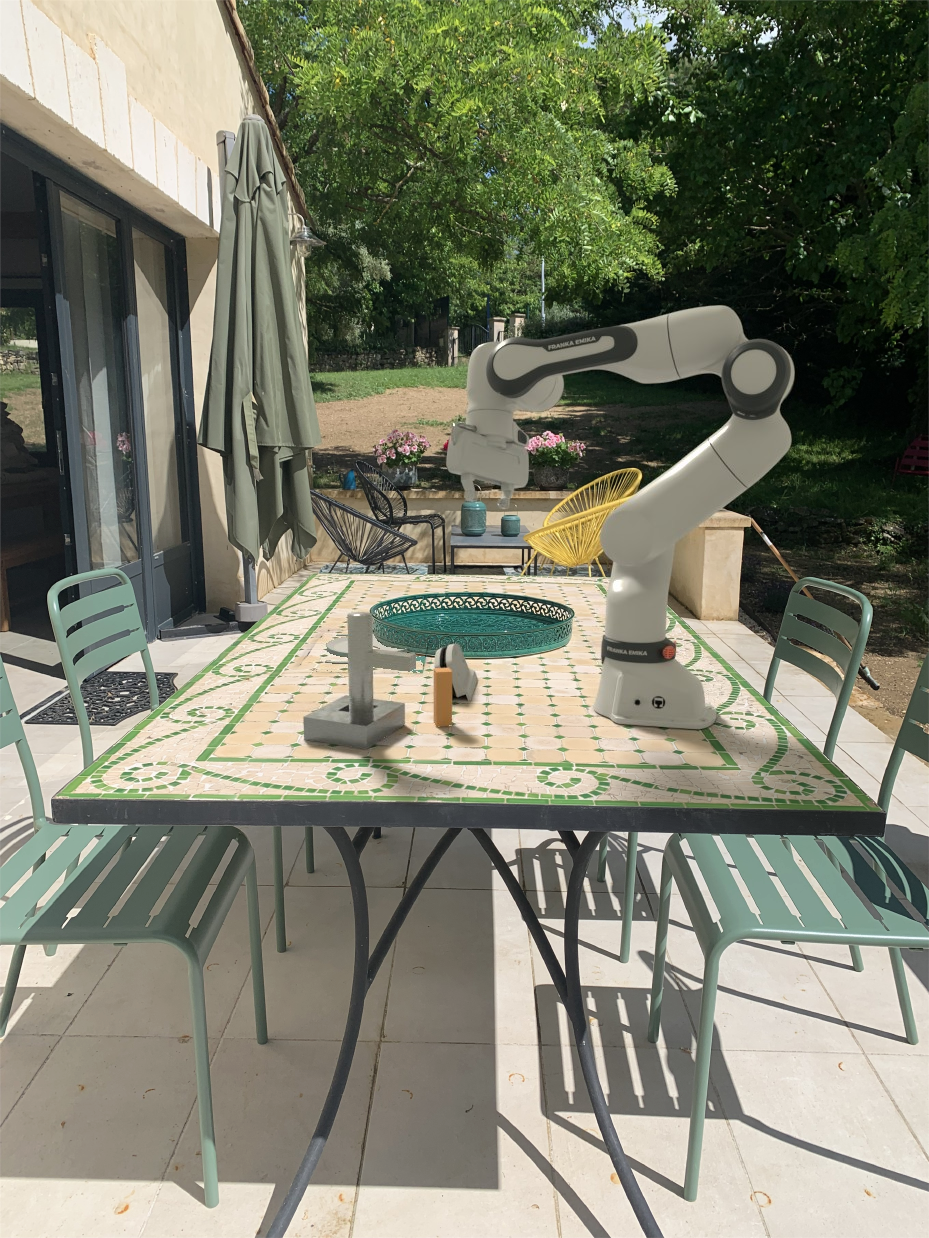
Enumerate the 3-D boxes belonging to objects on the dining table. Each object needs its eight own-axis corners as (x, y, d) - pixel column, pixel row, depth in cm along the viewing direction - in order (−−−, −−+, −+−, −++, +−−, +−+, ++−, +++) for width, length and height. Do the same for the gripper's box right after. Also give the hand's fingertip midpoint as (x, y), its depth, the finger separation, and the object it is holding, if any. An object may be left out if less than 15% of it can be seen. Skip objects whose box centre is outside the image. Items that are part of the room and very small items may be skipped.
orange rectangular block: (448, 721, 162) (449, 667, 160) (452, 726, 159) (452, 671, 157) (433, 722, 162) (433, 668, 159) (436, 727, 159) (436, 672, 157)
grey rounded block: (470, 701, 174) (453, 653, 173) (447, 708, 175) (430, 660, 174) (477, 678, 191) (462, 634, 189) (456, 684, 192) (441, 641, 190)
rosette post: (443, 730, 157) (443, 606, 153) (407, 756, 145) (407, 621, 140) (346, 716, 165) (343, 597, 160) (304, 739, 152) (300, 611, 147)
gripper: (465, 416, 159) (464, 494, 158) (534, 439, 174) (533, 510, 173) (439, 422, 163) (437, 498, 162) (509, 444, 178) (507, 513, 177)
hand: (487, 504), depth 168 cm, fingers open, 8 cm apart
